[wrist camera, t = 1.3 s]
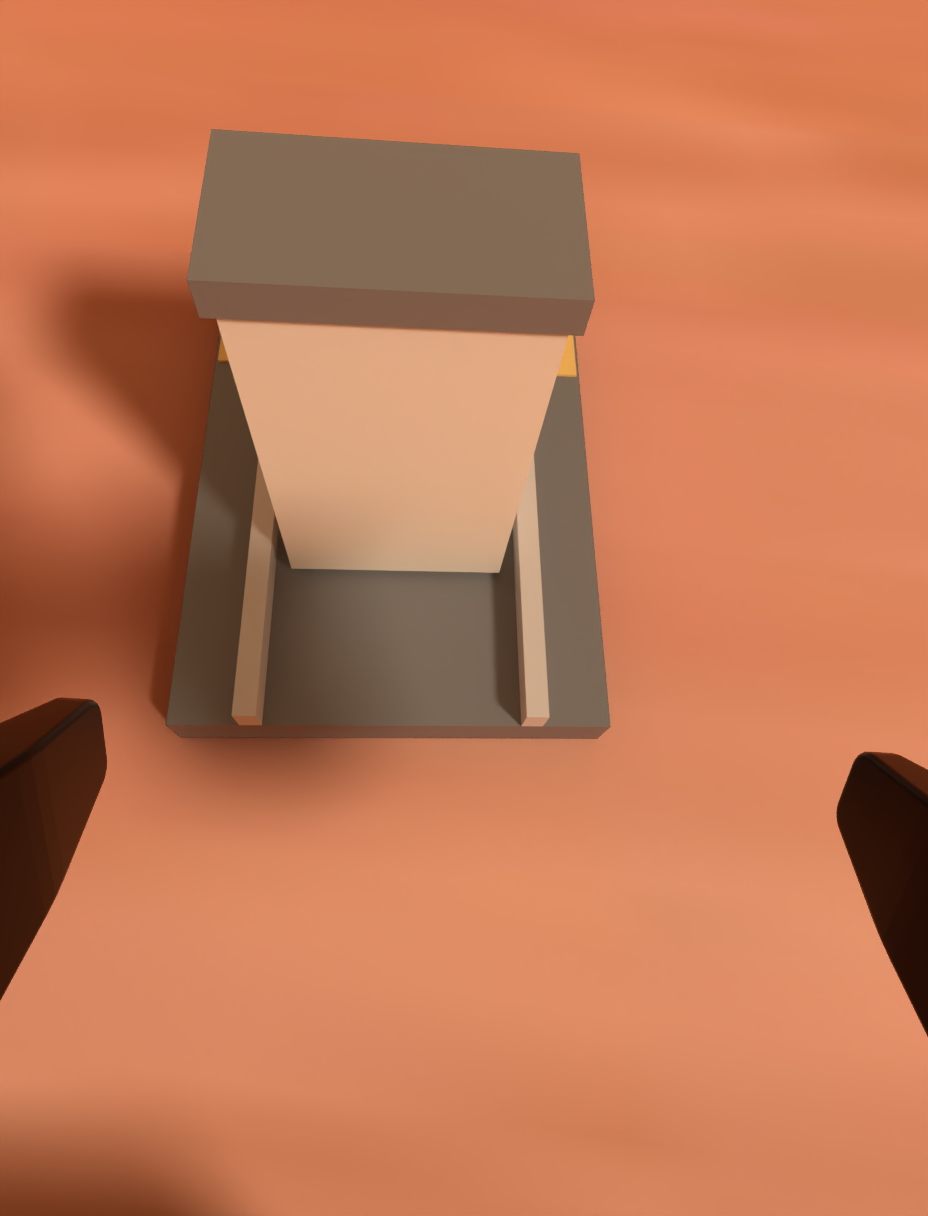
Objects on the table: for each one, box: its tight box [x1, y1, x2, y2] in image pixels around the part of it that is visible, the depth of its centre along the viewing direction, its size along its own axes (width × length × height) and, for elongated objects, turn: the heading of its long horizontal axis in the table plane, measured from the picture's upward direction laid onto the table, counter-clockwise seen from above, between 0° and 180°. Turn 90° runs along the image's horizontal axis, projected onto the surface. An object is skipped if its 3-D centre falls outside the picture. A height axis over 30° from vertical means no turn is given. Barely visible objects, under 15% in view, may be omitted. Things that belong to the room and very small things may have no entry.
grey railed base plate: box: [166, 333, 610, 739], centre depth 24 cm, size 16×12×2 cm
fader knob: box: [187, 129, 595, 573], centre depth 18 cm, size 3×6×11 cm, turn 91°
